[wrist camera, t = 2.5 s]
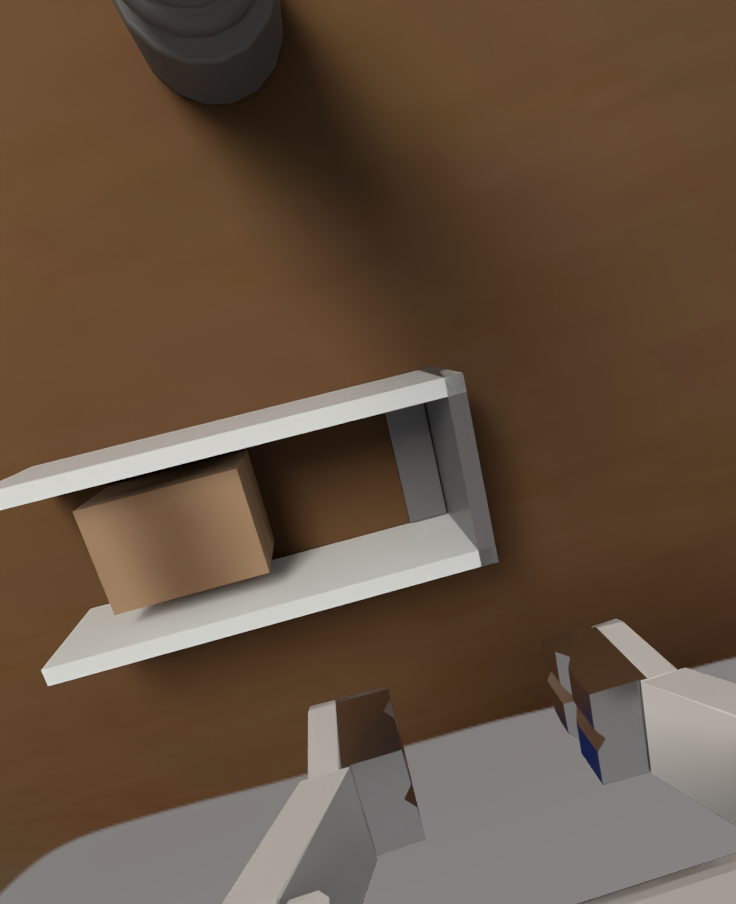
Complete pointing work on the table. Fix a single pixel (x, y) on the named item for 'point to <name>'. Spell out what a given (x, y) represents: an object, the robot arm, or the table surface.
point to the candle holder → (207, 44)
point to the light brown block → (177, 532)
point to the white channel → (306, 573)
